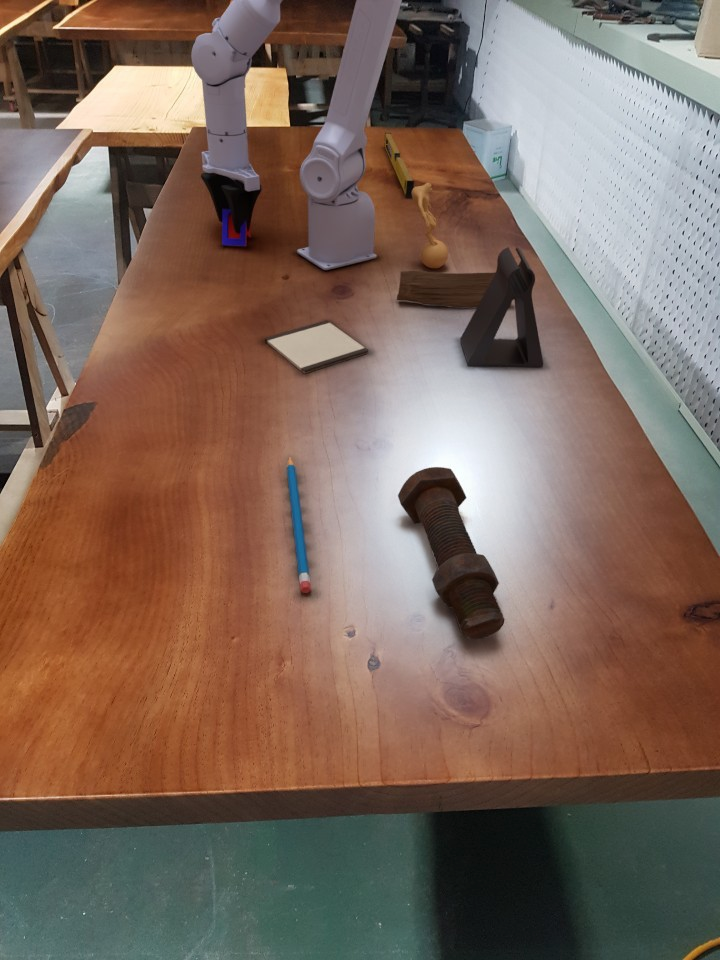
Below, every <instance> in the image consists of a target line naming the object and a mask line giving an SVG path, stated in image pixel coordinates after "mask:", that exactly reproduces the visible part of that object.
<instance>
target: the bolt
mask: <svg viewBox="0 0 720 960" xmlns="http://www.w3.org/2000/svg"><path fill="white" fill-rule="evenodd" d="M397 498H398V500H399V504H400V505H401V507H402V508H403V510H404V511H405V513H406V514H407V516H408V517H409V518H410V520H411V521H412V522H413V524H414V525H417V524H421V525H422V527H423V530H424V533H425V536H426V538H427V542H428V544H429V547H430V550H431V552H432V554H433V558H434V560H435V562H436V563H435V564H436V566H437V570H436V571H435V573H434V574H433V577H432V579H431V581H432V585H433V587H434V591H435V592H436V594H437V595H438V597H439V599H440V600H441V602H442V603H443V604H444V606H445V607H447V608H450V609H452V610H453V613H454V616H455V618H456V621H457V624H458V627H459V629H460V632H461V634H462V636H464V637H465V638H467V639H469V640H481V639H485V638H488V637H491V636H493V635H494V634H496V633H498V632H499V631H500V630H501V629H502V627H503V626H504V624H505V620H506V619H505V618H504V614H503V612H502V610H501V608H500V606H499V603H498V601H497V599H496V596H495V594H494V593H495V592H496V590H497V588H498V586H499V584H500V582H499V580H498V578H497V574H496V573H495V570H494V569H493V567H492V566H491V564H490V562H489V561H488V559H487V557H486V556H485V555H484V554H481V553H480V554H479V553H477V551H476V548H475V545H474V544H473V542H472V539H471V536H470V535H469V533H468V530H467V528H466V525H465V523H464V520H463V518H462V515H461V513H460V510H459V509H460V506H461V505H462V504H463V503H464V502H465V500H466V499H467V496H466V493H465V491H464V488H463V487H462V485H461V483H460V481H459V479H458V478H457V476H456V475H455V473H454V471H453V470H452V469H451V468H450V467H449V468H448V467H444V466H433V467H432V466H431V467H427V468H422V469H420V470H418V471H415V472H414V473H413V474H412V475H410V476H409V477H408V478H407V479H406V480H405V482H404V483H403V485H402V486H401V488H400V490H399V491H398V494H397Z"/></svg>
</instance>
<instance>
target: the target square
mask: <svg viewBox="0 0 720 960" xmlns="http://www.w3.org/2000/svg"><path fill="white" fill-rule="evenodd" d="M264 342H265V343H267V344H268V346H270V347H271V348H272V349H274V350H275V351H276V352H277V353H278V354H279V355H281V356H282V357H283V358H284V359H286V360H287V361H288V362H290V364H292V365H293V366H294V367H295V368H296V369H298V370H299V371H300V372H301V373H303V374H308V373H311V372H315V371H317V370H320V369H323V368H327V367H329V366H333V365H336V364H339V363H342V362H345V361H348V360H352V359H354V358H357V357H361V356H364V355H367V354H369V349H368V348H366V347H364V346H363V345H361V344H360V343H359V342H357V341H356V340H354V339H353V338H352V337H350V336H349V335H348V334H346V333H345V332H344V331H342V330H341V329H339V328H338V327H336V325H334V324H333V323H332V322H330V321H328V320H323V321H320V322H317V323H313V324H309V325H306V326H303V327H299V328H296V329H295V328H294V329H292V330H288V331H285V332H281V333H277V334H274V335H271V336H267V337H265V338H264Z"/></svg>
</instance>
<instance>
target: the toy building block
mask: <svg viewBox="0 0 720 960" xmlns="http://www.w3.org/2000/svg"><path fill="white" fill-rule="evenodd" d="M221 224H222V226H221V228H222V229H221V230H222V231H221V244H222V245H221V246H223V247H241V248H242V247H244V248H246V247H247V246H248V244H247V243H248V241H247V239H251V238H252V223H251V224H250V229H249V231H247V225H246V220H245V222H244V223H243V225H242V226H241V227H240V233H236V232H235V229H234V226H233V221H232V216H231V210H230V209H222V222H221Z"/></svg>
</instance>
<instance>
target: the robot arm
mask: <svg viewBox="0 0 720 960" xmlns="http://www.w3.org/2000/svg"><path fill="white" fill-rule="evenodd" d="M283 1H284V0H232V1H231V2H230V4H229V5H228V6H227V8H226V9H225V11H224V12H223V14H222V15H221V17H217V18H214V20H213V21H212V23H211V26H212V27H213V28H212V32H205V33H202V34H200V35H198V36H196V38H195V42H194V43H193V46H192V48H191V54H190V55H191V57H190V58H191V64H192V67H193V68H194V69H193V70H194V72H195V73H196V76H197V77H198V78H200V80H201V84H202V97H203V106H204V117H205V119H204V120H205V127H206V139H207V140H206V141H207V150H206V151H201V159H202V161H201V162H202V166H201V167H202V171H203V172H202V173H201V174H200V178H201V180H202V181H203V183H204V185H205V187H206V188H207V190H208V193H209V195H210V198H211V200H212V203H213V206H214V207H213V208H214V210H215V213H216V216H217V218H218V219H217V220H218V222H219V223H222V209H230V210H231V216H232V221H233V226H234V229H235V232H236V233H240V227H241V226H242V225H243V223H244V222H245V220H246V225H247V231H249V229H250V224H251V225H252V217H253V212H254V209H255V206H256V202H257V199H258V198H259V196H260V194H261V193H262V185H261V183H260V181H261V180H260V175H259V174H257V173H256V172H255V170H254V168H253V166H252V164H251V162H250V161H249V160H250V159H249V158H250V156H249V141H248V140H249V139H248V122H247V107H246V105H247V104H246V92H245V91H246V89H245V88H246V78H247V74H248V73H249V71H250V69H251V66H252V62H253V61H252V60H253V58H252V57H253V56H254V55H255V54H256V53H257V51H258V50H259V48H260V47H261V46H262V45H263V44H264V42H265V41H266V40H267V38H268V37H269V36H270V35H271V33H272V32H273V31H274V29H275V28H276V27H277V25H278V24H279V23H280V21H281V4H282V2H283ZM402 2H403V0H355V5H354V8H353V13H352V16H351V20H350V24H349V28H348V32H347V36H346V40H345V43H344V47H343V51H342V56H341V59H340V64H339V68H338V71H337V74H336V80H335V82H334V87H333V91H332V94H331V99H330V103H329V106H328V111H327V115H326V118H325V122H324V123H323V125H322V128H321V129H320V130H319V132H318V134H317V135H316V137H315V139H314V141H313V145H312V149H311V151H310V153H309V154H308V155H307V156H306V157H305V159H304V160H303V161H302V163H301V166H300V169H299V180H300V185H301V187H302V189H303V191H304V193H305V194H306V195H307V225H308V226H307V231H308V232H307V233H308V234H307V236H308V237H307V242H308V243H307V244H308V245H307V246H306V247H303V248H298V249H297V250H296V253H297V254H298V255H299V256H301V257H303V258H304V259H306V260H307V261H309V262H310V263H312V264H313V265H315V266H317V267H318V268H320V269H322V270H323V271H330V270H333V269H338V268H341V267H345V266H349V265H354V264H359V263H362V262H366V261H370V260H374V259H377V254H376V253H375V252H374V249H375V248H374V247H375V231H376V230H375V229H376V211H375V210H376V209H375V205H374V202H373V200H372V198H371V196H370V195H369V194H368V193H366V191H363V190H361V191H360V190H359V188H358V182H360V181H361V180H362V178H363V177H364V175H365V172H366V167H367V164H366V163H367V160H366V154H365V153H366V146H367V143H368V137H367V134H366V133H365V128H366V125H367V121H368V117H369V115H370V112H371V111H370V110H371V108H372V104H373V101H374V98H375V94H376V91H377V87H378V84H379V80H380V77H381V74H382V70H383V66H384V63H385V59H386V57H387V53H388V49H389V46H390V43H391V39H392V36H393V32H394V28H395V25H396V22H397V19H398V15H399V12H400V8H401V5H402Z"/></svg>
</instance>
